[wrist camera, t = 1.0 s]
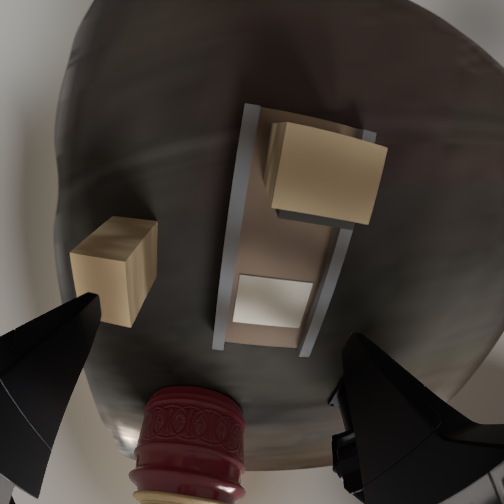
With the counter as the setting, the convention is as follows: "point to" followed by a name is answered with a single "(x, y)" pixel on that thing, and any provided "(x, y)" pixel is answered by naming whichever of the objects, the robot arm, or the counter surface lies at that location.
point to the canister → (190, 448)
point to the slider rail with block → (291, 225)
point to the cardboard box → (116, 267)
